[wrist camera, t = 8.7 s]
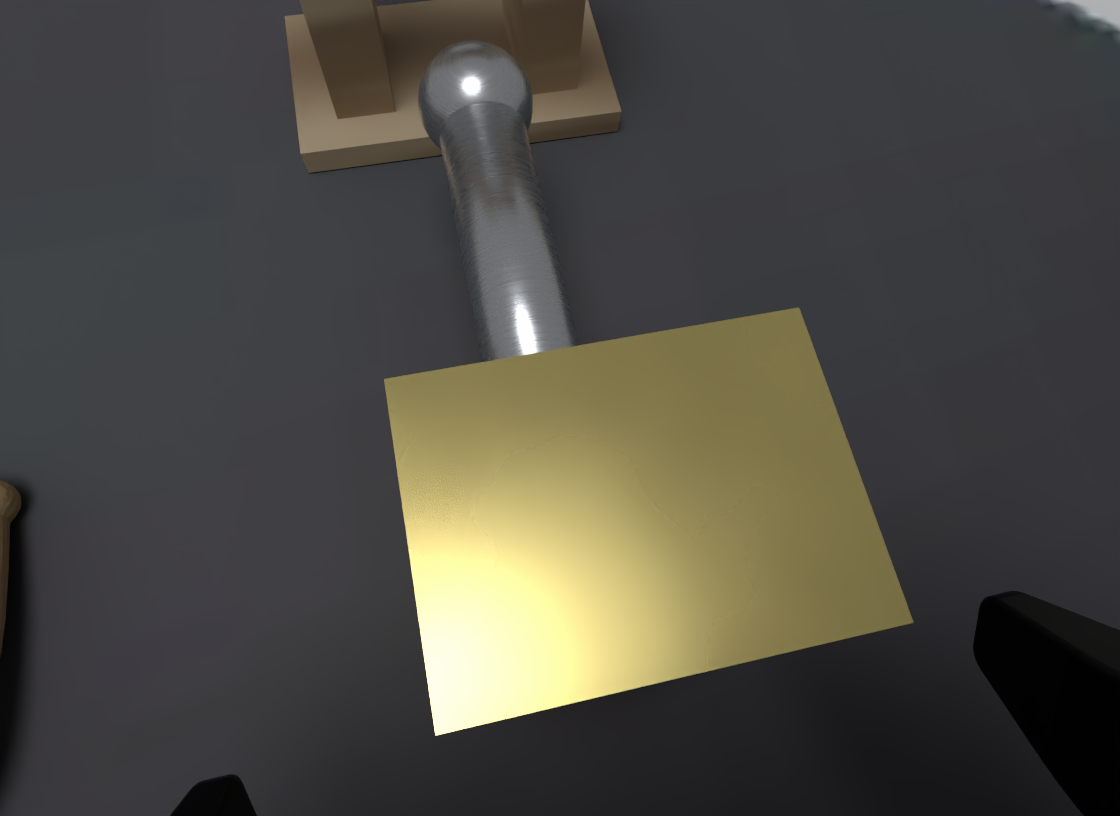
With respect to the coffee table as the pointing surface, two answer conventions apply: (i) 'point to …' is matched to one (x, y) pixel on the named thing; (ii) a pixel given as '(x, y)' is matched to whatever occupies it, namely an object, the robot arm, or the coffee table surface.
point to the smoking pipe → (6, 543)
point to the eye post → (406, 50)
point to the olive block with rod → (609, 465)
